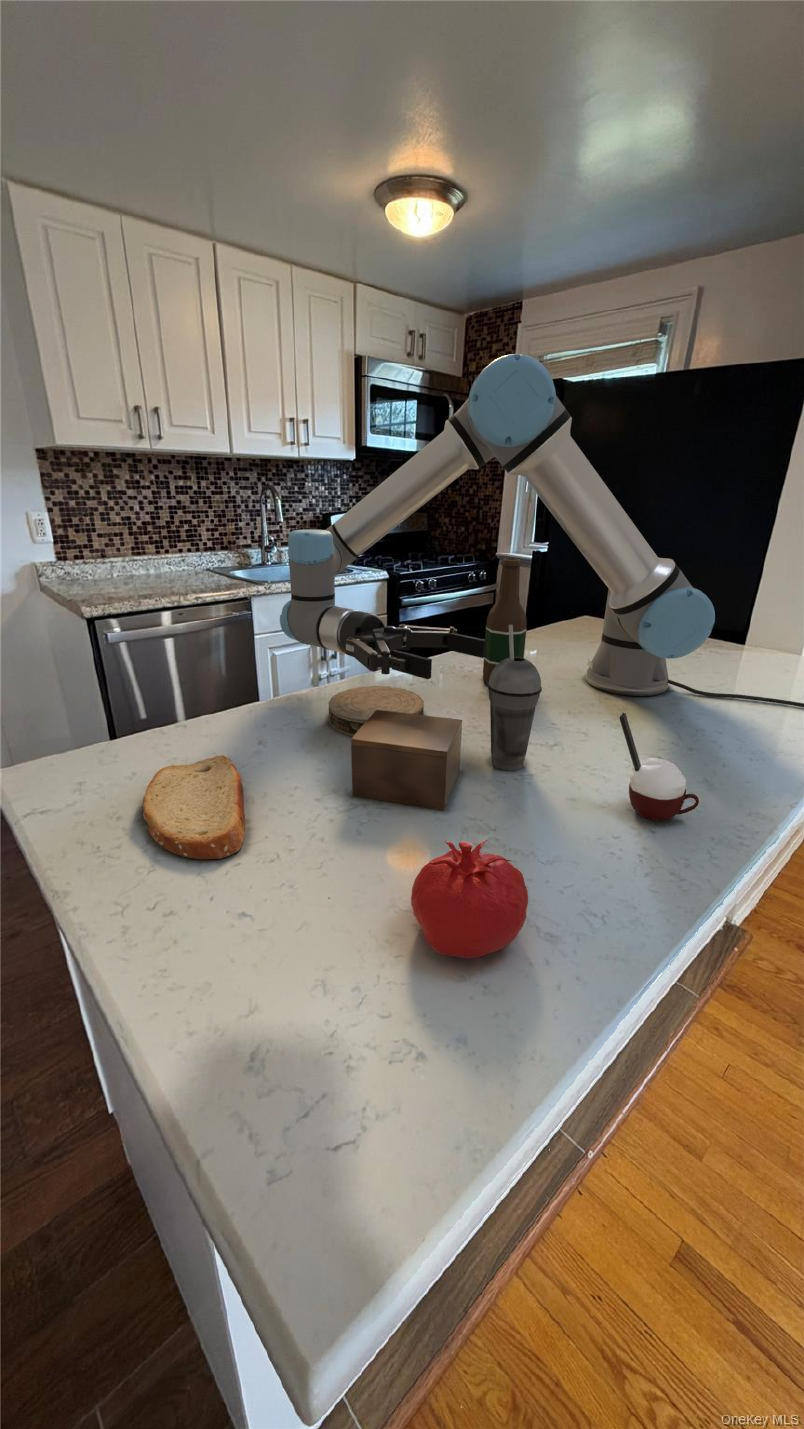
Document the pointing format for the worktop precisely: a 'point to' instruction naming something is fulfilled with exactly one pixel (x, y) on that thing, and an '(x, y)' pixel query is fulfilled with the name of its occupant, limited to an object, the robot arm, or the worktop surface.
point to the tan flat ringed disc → (370, 705)
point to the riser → (406, 758)
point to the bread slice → (197, 809)
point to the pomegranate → (469, 902)
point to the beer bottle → (505, 619)
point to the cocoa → (655, 784)
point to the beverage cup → (512, 708)
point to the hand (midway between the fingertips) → (459, 658)
